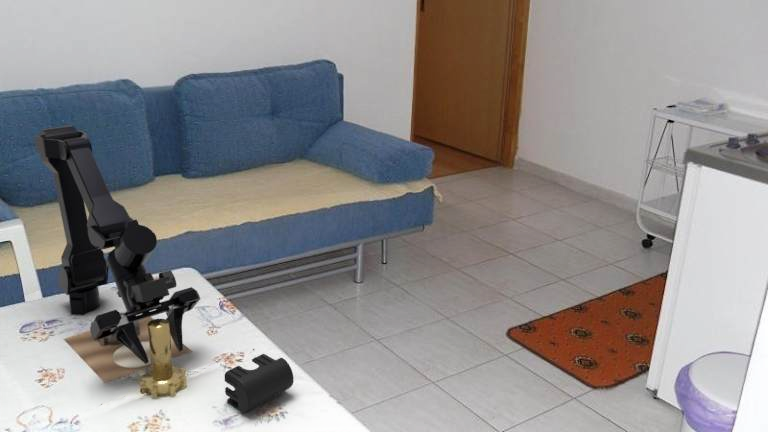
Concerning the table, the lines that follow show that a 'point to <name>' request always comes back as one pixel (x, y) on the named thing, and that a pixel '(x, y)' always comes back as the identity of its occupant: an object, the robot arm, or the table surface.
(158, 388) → the gear
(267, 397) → the end cap
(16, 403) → the table surface
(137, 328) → the sun gear
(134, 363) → the carrier board
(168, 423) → the table surface
